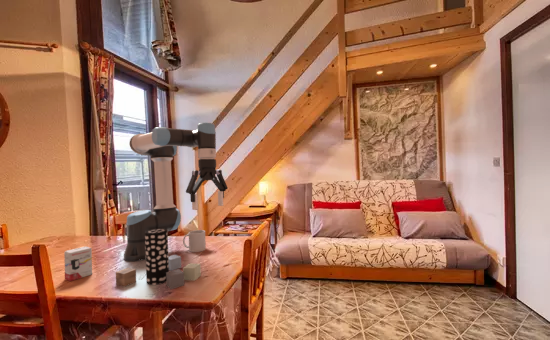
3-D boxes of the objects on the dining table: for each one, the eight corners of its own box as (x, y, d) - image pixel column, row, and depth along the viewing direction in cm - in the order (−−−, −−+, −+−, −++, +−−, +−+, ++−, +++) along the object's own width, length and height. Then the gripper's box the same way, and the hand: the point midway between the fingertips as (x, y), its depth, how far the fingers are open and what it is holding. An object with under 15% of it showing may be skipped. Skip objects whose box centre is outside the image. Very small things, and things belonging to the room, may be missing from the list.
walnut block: (116, 284, 105) (115, 272, 105) (127, 279, 109) (127, 267, 109) (124, 286, 103) (124, 273, 103) (136, 281, 107) (135, 269, 107)
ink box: (69, 281, 109) (68, 252, 109) (64, 279, 112) (63, 251, 111) (92, 274, 116) (92, 247, 116) (87, 272, 119) (86, 245, 119)
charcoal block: (166, 285, 103) (166, 272, 103) (179, 281, 106) (179, 269, 106) (170, 289, 99) (170, 276, 99) (184, 285, 102) (183, 272, 102)
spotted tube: (151, 276, 111) (149, 229, 111) (171, 275, 112) (170, 228, 112) (143, 285, 103) (141, 234, 103) (165, 284, 104) (163, 232, 104)
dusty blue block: (165, 268, 121) (165, 257, 121) (175, 265, 125) (175, 254, 125) (171, 271, 118) (170, 259, 118) (181, 267, 121) (181, 256, 121)
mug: (209, 248, 149) (208, 230, 149) (195, 253, 141) (195, 234, 141) (195, 246, 155) (195, 229, 155) (182, 250, 147) (181, 232, 147)
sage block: (183, 280, 107) (183, 267, 107) (189, 275, 112) (189, 263, 112) (195, 280, 106) (194, 268, 106) (200, 275, 111) (200, 263, 111)
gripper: (186, 158, 104) (188, 212, 104) (234, 158, 123) (235, 204, 123) (176, 158, 108) (177, 210, 108) (223, 159, 128) (224, 203, 128)
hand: (208, 207), depth 116 cm, fingers open, 13 cm apart
